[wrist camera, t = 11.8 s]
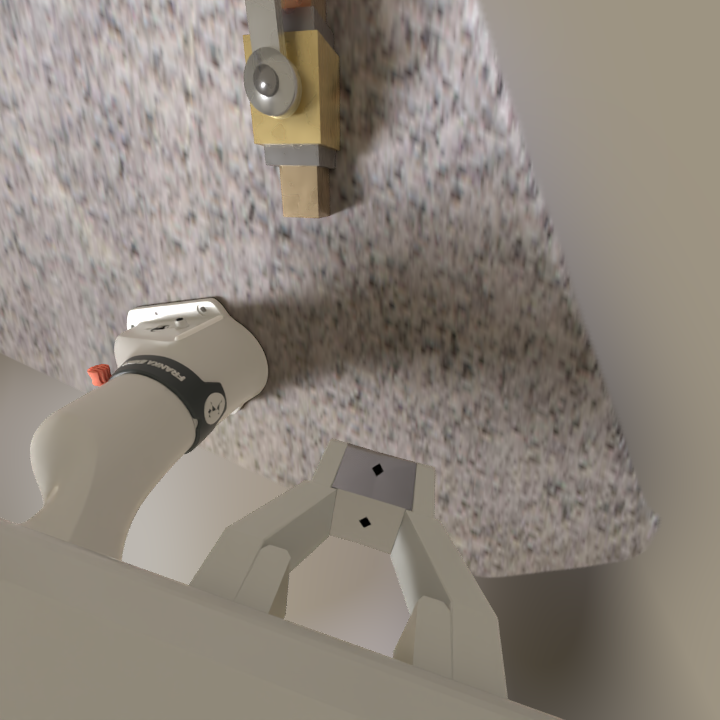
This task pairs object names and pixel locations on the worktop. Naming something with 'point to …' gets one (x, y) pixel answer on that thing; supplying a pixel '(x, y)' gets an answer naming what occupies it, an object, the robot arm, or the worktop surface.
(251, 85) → the lever
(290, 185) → the valve
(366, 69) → the worktop surface
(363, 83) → the worktop surface
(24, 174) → the worktop surface
